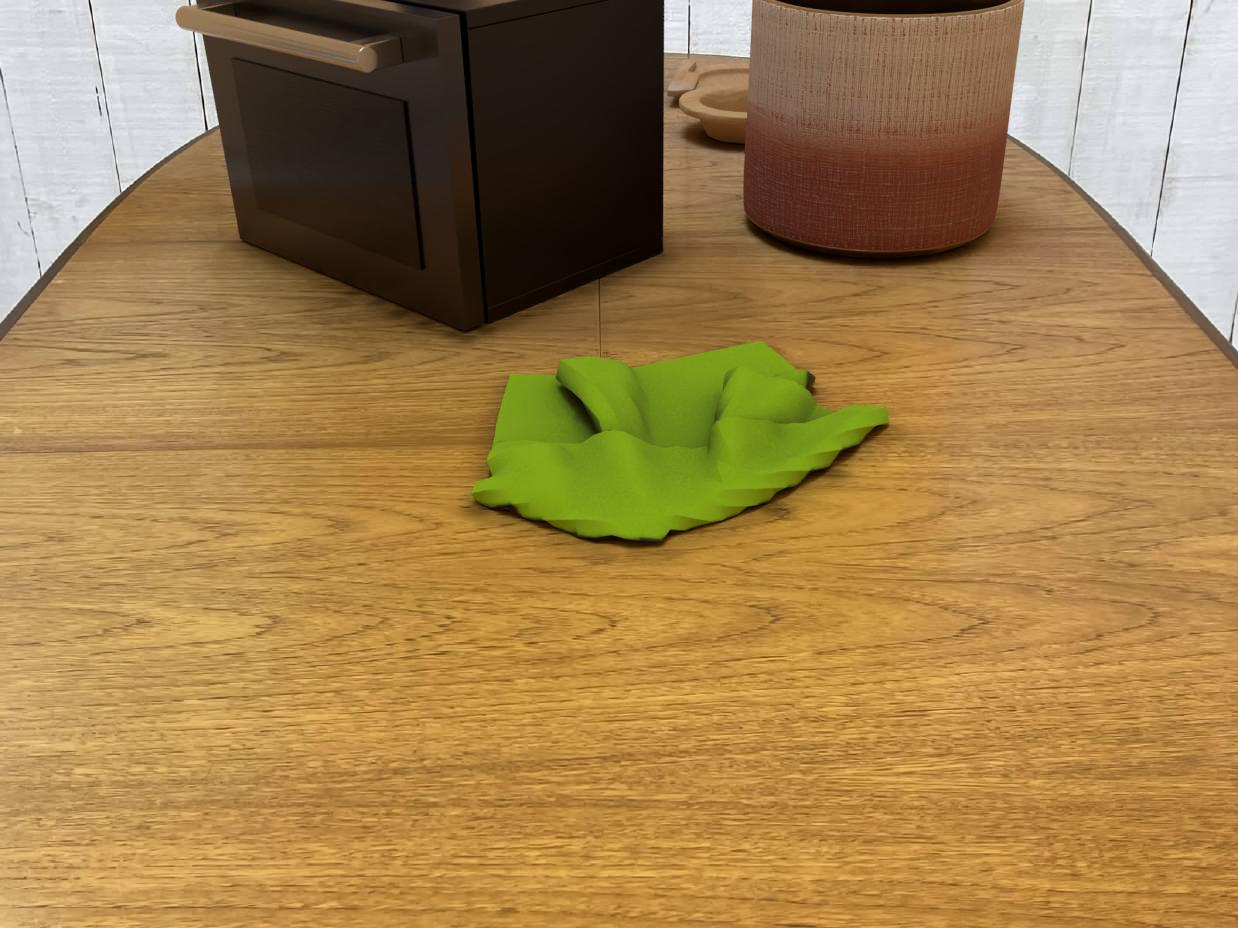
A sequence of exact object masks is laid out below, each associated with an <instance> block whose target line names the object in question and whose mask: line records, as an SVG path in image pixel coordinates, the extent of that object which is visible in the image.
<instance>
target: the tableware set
mask: <svg viewBox="0 0 1238 928" xmlns="http://www.w3.org/2000/svg"><path fill="white" fill-rule="evenodd" d="M749 66H750V62H727V63H726V62H725V63H716V64H706V65H700V66H697V60H696V59H693V58H686V59H682V60H681V62H680V64H679V65H678V68H677V69H676V71H675V73H674V74H673V75H674V76H673V77H672V79H671V81H670V84H669V85H668V87H667V91H666V92H667V93H666V94H667V97H675V98H676V97H679V98H678V107H679V109H680V111H681V112H682V113H684V115H687V116H689V117H692V118H694V119H697V120H699V122H700V124H701V126H702V127H703V130H704V131H705V133H706V135H707V136H708V137H709V138H711V139H713V140H716V141H719V142H724V143H731V144H739V145H740V144H741V145H742V144H744V145H745V138H746V121H747V104H748V85H749Z"/></svg>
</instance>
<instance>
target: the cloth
mask: <svg viewBox="0 0 1238 928" xmlns="http://www.w3.org/2000/svg"><path fill="white" fill-rule="evenodd" d="M815 384H816V375H814V374H812V373H811V372H810V371H809V370H807V369H797V368H796V367H795V366H794V365H792V363H791V362H789V361H788V360H786V359H785V358H784V357H783V356H782V355H780V354H779V353H778V352H777V351H775V350H774V348H772V347H770V346H769V345H768V344H767V343H765V342H764V341H763V340H758V341H754V342H749V343H743V344H737V345H733V346H728V347H725V348H719V349H715V350H711V351H706V352H701V353H696V354H691V355H686V356H682V357H678V358H672V359H668V360H663V361H658V362H653V363H652V362H651V363H647V364H643V365H639V366H634V367H631V366H629V365H628V364H627V363H626V362H624V361H622V360H618V359H612V358H605V357H600V356H595V355H594V356H593V355H589V356H588V355H587V356H579V357H570V358H563V359H559V362H558V365H557V370H556V374H537V373H536V374H534V373H533V374H529V373H528V374H527V373H526V374H525V373H510V374H509V377H508V381H507V384H506V387H505V389H504V393H503V396H502V399H501V404H500V409H499V411H498V415H497V419H496V424H495V431H494V436H493V437H494V438H493V441H492V445H491V446H492V447H491V450H490V451H489V452H488V455H487V458H486V463H487V466H488V469H489V471H490V474H491V476H490V477H488V478H487V477H486V478H483V479H481V480H477V481H476V482H475V483H474V486H473V488H472V490H471V493H470V495H471V496H472V497H473V499H475V500H476V502H477V503H479V504H481V505H483V506H485V507H488V508H494V509H505V510H508V511H510V512H511V513H513V514H515V515H517V516H519V517H521V518H524V519H527V520H530V521H545V522H546V523H547V524H549V526H551V527H554V528H556V529H559V530H561V531H564V532H566V533H569V534H571V535H574V536H576V537H578V538H588V539H589V538H591V539H596V538H601V537H607V536H615V537H618V538H622V539H624V540H628V541H634V542H662V541H663V540H664V538H665V537H666V536H667V535H668V533H669V532H676V531H680V532H681V531H688V530H691V529H694V528H697V527H700V526H703V525H708V524H712V523H716V522H719V521H723V520H726V519H729V518H731V517H733V516H736V515H739V514H740V513H741V512H743V511H744V510H745V509H746V508H748V507H753V506H758V505H761V504H764V503H767V502H770V501H771V500H772V498H773V497H774V496H775V495H776V494H777V493H779V492H781V491H782V490H784V489H786V488H795V487H797V486H798V485H800V484H801V483H802V482H803V481H804V480H805V479H806V478H807V476H808V475H809V474H812V473H813V472H816V471H819V470H822V469H826V468H829V467H830V466H831V465H832V464H833V463H834V462H835V461H836V459H837V457H838V456H839V455H840V454H841V453H843V452H844V451H847V450H848V449H850V448H852V447H855V446H857V445H859V444H861V443H862V442H863V441H864V440H865V438H866V436H867V435H868V434H869V433H870V432H871V431H872V430H873V429H874V428H875V427H877V426H882V425H886V424H889V423H890V418H889V412H888V408H887V406H880V405H879V406H878V405H868V404H855V403H854V404H851V405H848V406H845V407H842V408H840V409H838V410H836V411H834V410H830V409H828V408H826V407H823V406H821V405H819V404H818V403H817V402H816V400H815V398H814V396H813V395H812V393H811V391H810V390H811V389H812V387H813V386H814V385H815Z"/></svg>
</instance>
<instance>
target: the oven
mask: <svg viewBox="0 0 1238 928" xmlns="http://www.w3.org/2000/svg"><path fill="white" fill-rule="evenodd" d="M382 1H387V2H393V3H398V4H404V5H409V6H415V7H420V8H426V9H431V10H436V11H442V12H447V13H453V14H458V15H459V16H460V28H461V40H462V52H463V64H464V76H465V88H466V101H467V113H468V125H469V137H470V149H471V161H472V173H473V185H474V197H475V209H476V221H477V233H478V245H479V257H480V270H481V282H482V294H483V306H484V318H485V322H484V323H486V324H490V323H493V322H495V321H498V320H500V319H503V318H505V317H508V316H510V315H512V314H515V313H517V312H520V311H523V310H525V309H527V308H529V307H532V306H534V305H537V304H539V303H542V302H544V301H547V300H548V299H551V298H554V297H556V296H558V295H561V294H564V293H566V292H568V291H571V290H573V289H576V288H578V287H580V286H583V285H585V284H587V283H590V282H593V281H595V280H598V279H600V278H602V277H604V276H607V275H610V274H611V273H614V272H617V271H619V270H622V269H625V268H627V267H630V266H632V265H634V264H637V263H639V262H641V261H643V260H646V259H649V258H651V257H653V256H656V255H658V254H661V253H663V252H664V166H665V165H664V164H665V162H664V161H665V160H664V156H665V155H664V153H665V152H664V150H665V149H664V148H665V142H664V141H665V139H664V138H665V137H664V136H665V131H664V130H665V0H382Z"/></svg>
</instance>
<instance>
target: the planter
mask: <svg viewBox="0 0 1238 928" xmlns="http://www.w3.org/2000/svg"><path fill="white" fill-rule="evenodd" d="M1025 3H1026V2H1025V0H752V2H751V22H750V25H751V26H750V27H751V28H750V46H749V47H750V48H749V49H750V50H749V63H750V66H749V85H748V104H747V121H746V138H745V144H744V161H743V181H742V182H743V183H742V184H743V187H742V191H743V193H742V195H743V196H742V197H743V198H742V199H743V200H742V201H743V210H744V213H745V215H746V216H747V218H748V219H749V220H750V221H751V222H752V223H753V225H755V226H756V227H758V229H760V230H761V231H762V232H764V233H765V234H768V235H769V236H771V237H773V238H775V239H777V240H780V241H782V242H785V243H786V244H789V245H791V246H795V247H798V248H802V249H805V250H809V251H814V252H818V253H823V254H828V255H835V256H842V257H852V258H866V259H899V258H910V257H919V256H929V255H933V254H938V253H942V252H946V251H949V250H953V249H956V248H959V247H962V246H964V245H966V244H968V243H970V242H972V241H974V240H976V239H977V238H979V237H980V236H982V235H983V234H985V233H986V232H987V231H988V230H989V229H990V228H991V227H992V226H993V224H994V222H995V219H996V215H997V210H998V207H999V200H1000V194H1001V186H1002V180H1003V171H1004V165H1005V157H1006V148H1007V140H1008V132H1009V123H1010V116H1011V107H1012V100H1013V92H1014V85H1015V76H1016V69H1017V61H1018V55H1019V47H1020V39H1021V31H1022V25H1023V17H1024V12H1025V11H1024V10H1025Z"/></svg>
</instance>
